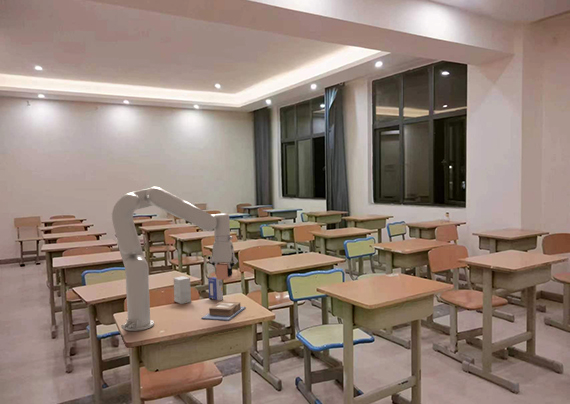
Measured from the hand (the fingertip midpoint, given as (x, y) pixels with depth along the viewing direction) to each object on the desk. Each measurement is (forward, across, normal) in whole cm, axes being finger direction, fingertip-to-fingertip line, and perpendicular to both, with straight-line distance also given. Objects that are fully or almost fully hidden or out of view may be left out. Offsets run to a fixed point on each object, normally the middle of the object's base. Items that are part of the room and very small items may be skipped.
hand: (224, 275), depth 198 cm
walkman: (+19, +16, -22) cm, 33 cm away
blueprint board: (+18, 0, +1) cm, 18 cm away
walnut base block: (+18, 0, 0) cm, 18 cm away
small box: (+18, +32, -14) cm, 40 cm away
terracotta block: (+1, 0, 0) cm, 1 cm away
